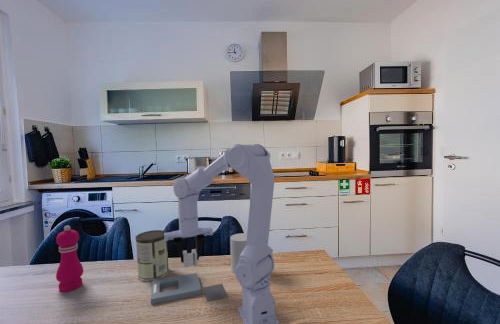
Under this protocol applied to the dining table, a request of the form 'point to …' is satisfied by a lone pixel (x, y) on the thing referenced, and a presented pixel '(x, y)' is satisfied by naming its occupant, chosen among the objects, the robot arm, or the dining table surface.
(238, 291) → the dining table surface
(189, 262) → the clip
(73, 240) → the pepper mill
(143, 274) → the coffee can
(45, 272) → the dining table surface
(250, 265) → the robot arm
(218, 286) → the pad
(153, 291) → the board
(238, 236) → the cup
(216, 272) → the dining table surface
